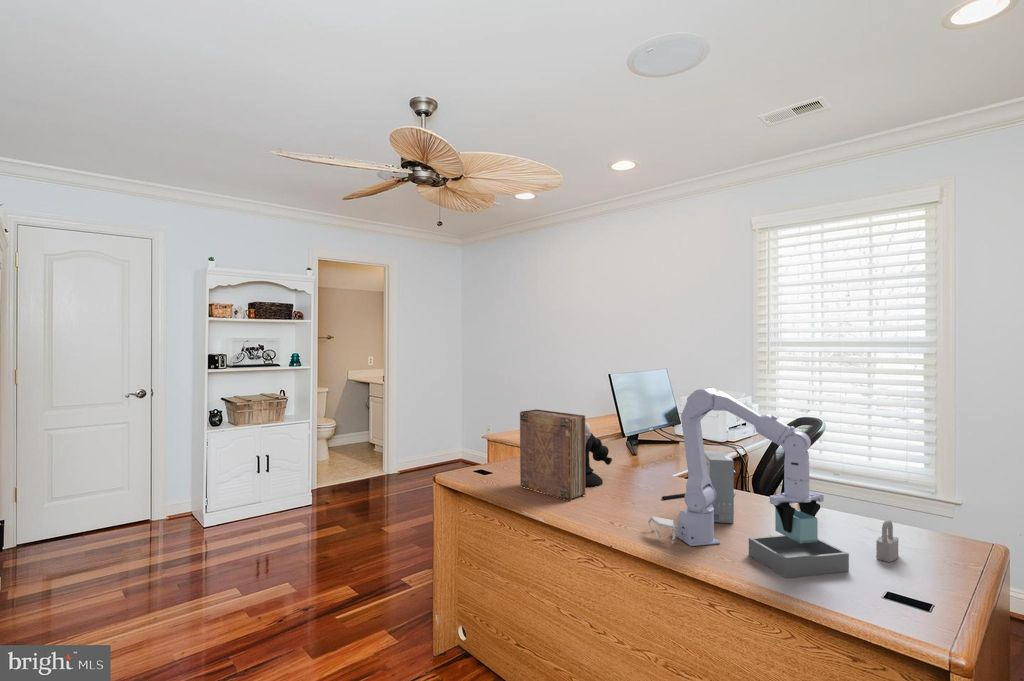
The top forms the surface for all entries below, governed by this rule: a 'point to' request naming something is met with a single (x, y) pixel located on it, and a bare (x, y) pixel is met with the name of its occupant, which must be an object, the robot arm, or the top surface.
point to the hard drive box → (721, 484)
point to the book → (553, 453)
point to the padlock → (887, 543)
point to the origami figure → (664, 525)
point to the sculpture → (594, 457)
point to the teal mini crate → (799, 527)
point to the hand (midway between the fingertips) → (796, 530)
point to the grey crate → (798, 556)
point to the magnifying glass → (679, 496)
